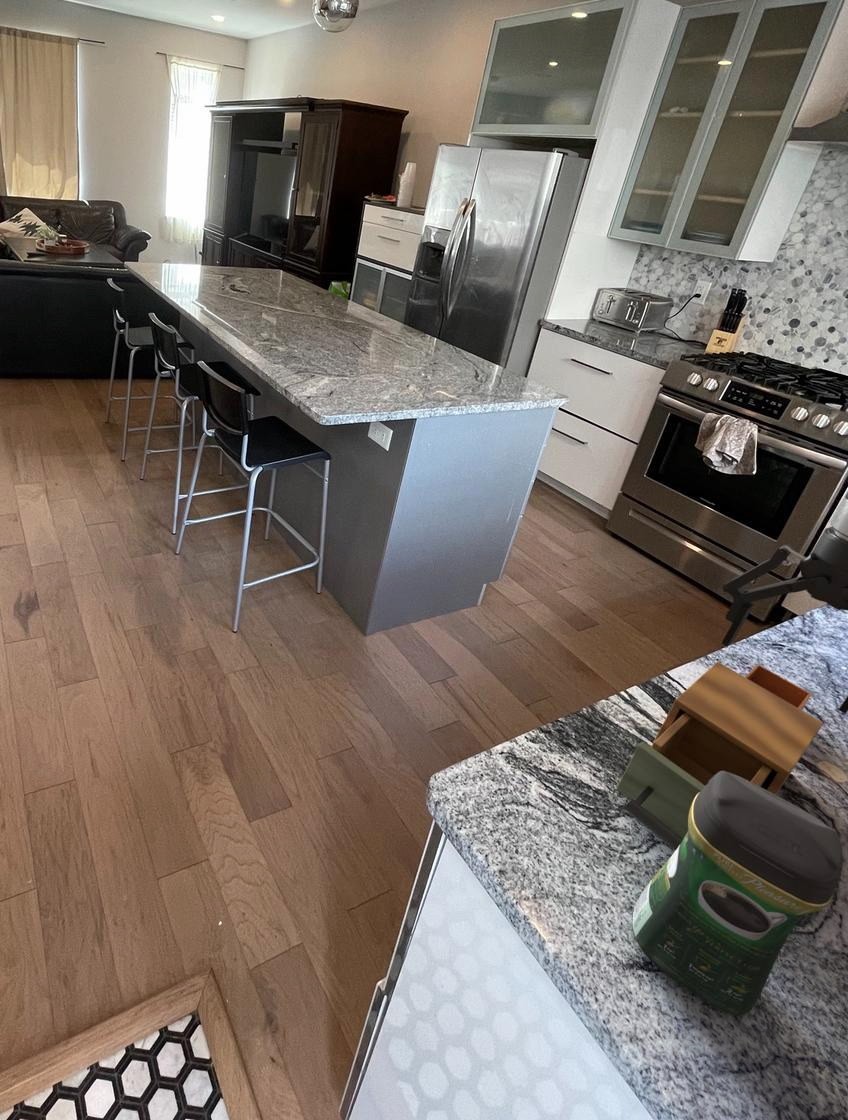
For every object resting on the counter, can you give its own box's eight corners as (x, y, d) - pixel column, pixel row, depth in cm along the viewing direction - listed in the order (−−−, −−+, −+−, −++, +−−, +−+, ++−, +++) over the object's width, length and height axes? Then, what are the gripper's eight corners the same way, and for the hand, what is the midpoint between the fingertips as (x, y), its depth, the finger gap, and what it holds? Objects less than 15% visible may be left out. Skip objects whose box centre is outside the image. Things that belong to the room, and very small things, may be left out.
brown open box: (781, 739, 84) (799, 710, 82) (727, 705, 88) (743, 678, 86) (795, 721, 87) (812, 694, 85) (742, 690, 92) (757, 663, 90)
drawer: (697, 895, 61) (727, 848, 58) (594, 809, 68) (617, 764, 65) (756, 810, 71) (784, 767, 68) (662, 743, 78) (684, 702, 76)
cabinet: (754, 827, 70) (789, 772, 67) (648, 751, 78) (675, 699, 75) (790, 773, 78) (823, 722, 75) (691, 710, 86) (717, 661, 83)
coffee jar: (752, 959, 57) (856, 819, 50) (747, 1040, 51) (863, 894, 44) (637, 882, 62) (715, 745, 55) (620, 947, 56) (705, 803, 49)
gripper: (740, 498, 83) (675, 625, 91) (1006, 607, 66) (895, 752, 74) (759, 489, 88) (695, 611, 96) (1012, 589, 70) (907, 728, 78)
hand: (782, 673), depth 85 cm, fingers open, 13 cm apart
